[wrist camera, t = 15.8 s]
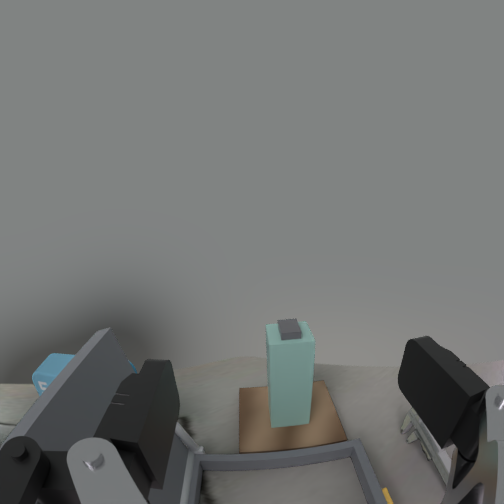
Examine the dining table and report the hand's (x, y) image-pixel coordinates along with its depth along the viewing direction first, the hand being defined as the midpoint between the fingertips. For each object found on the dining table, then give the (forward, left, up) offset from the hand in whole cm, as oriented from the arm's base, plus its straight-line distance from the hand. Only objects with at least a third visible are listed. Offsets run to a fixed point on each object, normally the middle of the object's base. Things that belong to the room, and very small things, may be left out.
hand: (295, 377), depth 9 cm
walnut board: (+3, +19, -22) cm, 29 cm away
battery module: (+3, +19, -21) cm, 28 cm away
